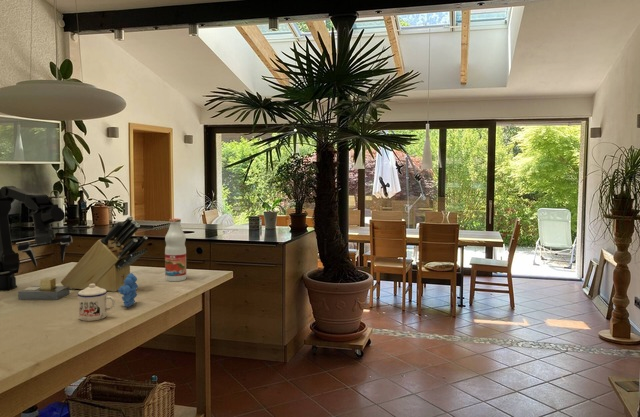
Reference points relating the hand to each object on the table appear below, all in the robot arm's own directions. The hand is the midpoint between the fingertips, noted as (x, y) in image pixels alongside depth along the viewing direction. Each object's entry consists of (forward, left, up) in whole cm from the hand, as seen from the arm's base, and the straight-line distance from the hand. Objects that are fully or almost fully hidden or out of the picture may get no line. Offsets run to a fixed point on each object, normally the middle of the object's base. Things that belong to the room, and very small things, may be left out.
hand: (49, 264), depth 200 cm
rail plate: (-3, +1, -13) cm, 13 cm away
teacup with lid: (+30, -27, -13) cm, 42 cm away
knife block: (+16, +15, -13) cm, 25 cm away
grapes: (+35, -12, -13) cm, 39 cm away
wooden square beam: (-1, +1, -13) cm, 13 cm away
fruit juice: (+41, +33, -13) cm, 54 cm away
